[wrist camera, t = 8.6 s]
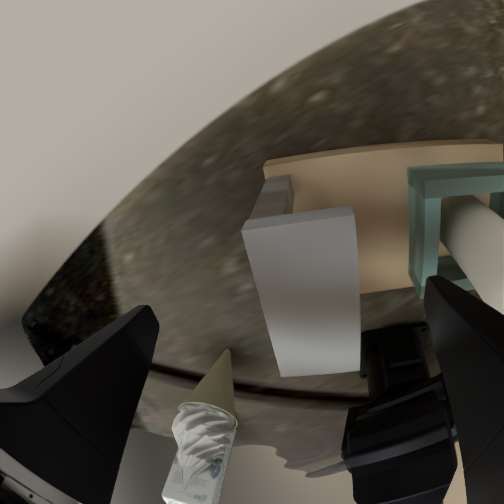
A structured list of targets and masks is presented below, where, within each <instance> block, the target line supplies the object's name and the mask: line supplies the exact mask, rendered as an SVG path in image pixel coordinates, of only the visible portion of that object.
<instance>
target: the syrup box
mask: <svg viewBox="0 0 504 504" xmlns="http://www.w3.org/2000/svg"><path fill="white" fill-rule="evenodd" d="M234 430H235V431H234V432H233V433H230V434H227V435H226V438H228V439H230V440H231V444H230V445H226V446H222V447H221V448H222V449H223V450H224V451H225V452H223V453H220V454H217V455H215V456H213V457H211V465H210V466H208V467H207V468H206V469H205V470H204V471H202V472H201V473H200V474H199V475H198V477H197V478H196V479H195V480H194V481H193V482H192V483H191V484H190V485H189V486H188V487H187V489H186V490H185V491H184V489H183V481H182V474H181V466H180V463H179V461H178V459H177V454H178V451H179V448H178V451H177V454H176V456H175V459H174V462H173V464H172V468H171V470H170V473H169V475H168V478H167V481H166V484H165V486H164V489H163V492H162V497H163V499H164V500H165V502H166V503H167V504H218V502H219V498H220V494H221V490H222V486H223V482H224V478H225V474H226V470H227V466H228V462H229V458H230V454H231V450H232V446H233V442H234V438H235V434H236V428H235V429H234Z"/></svg>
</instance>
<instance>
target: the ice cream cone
mask: <svg viewBox="0 0 504 504" xmlns="http://www.w3.org/2000/svg"><path fill="white" fill-rule="evenodd" d="M178 412H179V414H178V415H176V418H175V419H174V421H173V425H172V428H171V429H172V431H173V434H174V437H175V439H176V441H177V443H178V446H179V451H178V454H177V459H178V461H179V463H180V466H181V474H182V481H183V489H184V491H185V490H186V489H187V487H188V486H189V485H190V484H191V483H192V482H193V481H194V480H195V479H196V478H197V477H198V475H199V474H200V473H201V472H202V471H204V470H205V469H206V468H207V467H208V466H210V465H211V457H213V456H215V455H217V454H220V453H223V452H225V451H224V450H223V449H222V448H221V447H222V446H226V445H230V444H231V440H230V439H228V438H226V435H227V434H230V433H233V432H234V431H235V430H234V429H235V428H236V427H237V425H238V422H237V420H236V416H235V404H234V390H233V378H232V365H231V351H230V349H226V350H225V351H224V352H223V354H222V355H221V356H220V357H219V359H218V360H217V361H216V363H215V364H214V365H213V366H212V368H211V369H210V370H209V372H208V373H207V374H206V375H205V377H204V378H203V379H202V380H201V382H200V383H199V384H198V385H197V387H196V388H195V389H194V391H193V392H192V393H191V394H190V396H189V397H188V398H187V399H186V401H185V402H184V403H183V404H181V405H180V406H179V408H178Z"/></svg>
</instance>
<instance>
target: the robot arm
mask: <svg viewBox="0 0 504 504" xmlns="http://www.w3.org/2000/svg"><path fill="white" fill-rule="evenodd" d="M424 307H425V311H426V315H427V319H428V323H429V327H430V332H431V336H432V341H433V345H434V349H435V353H436V356H437V359H438V362H439V365H440V369H441V373H439V375H437V376H435V377H433V378H431V376H430V372H429V369H428V365H427V362H426V359H425V356H424V349H425V345H426V340H427V335H428V330H429V327H428V325H427V323H420V324H414V325H409V326H403V327H396V328H390V329H383V330H376V331H369V332H364V333H362V335H361V354H360V377H361V378H363V379H365V378H367V380H368V389H369V398H370V402H369V403H366V404H363V405H360V406H357V407H356V406H354V407H351V408H349V411H348V416H347V420H346V426H345V432H344V437H343V443H342V453H341V457H342V459H343V460H344V461H345V464H346V467H347V469H348V471H349V472H350V473H351V474H352V479H353V497H354V500H355V501H356V503H357V504H443V499H444V497H445V495H446V493H447V490H448V488H449V486H450V484H451V481H452V479H453V476H454V474H455V471H456V469H457V465H458V464H457V454H456V449H455V444H454V443H456V442H458V441H459V446H460V451H461V457H462V462H463V469H465V470H464V478H465V486H466V496H467V504H504V315H503V314H502V313H500V312H499V311H497V310H496V309H494V308H493V307H491V306H490V305H488V304H487V303H485V302H483V301H482V300H480V299H479V298H477V297H476V296H474V295H472V294H471V293H469V292H468V291H466V290H464V289H463V288H461V287H459V286H458V285H456V284H454V283H453V282H451V281H449V280H448V279H446V278H444V277H443V276H441V275H432V276H428V277H427V279H426V284H425V293H424ZM158 333H159V322H158V320H157V318H156V316H155V314H154V312H153V310H152V308H151V307H150V306H149V305H139V306H137V307H135V308H134V309H132V310H131V311H129V312H127V313H126V314H124V315H123V316H121V317H120V318H118V319H117V320H115V321H114V322H112V323H111V324H109V325H108V326H106V327H105V328H103V329H102V330H100V331H99V332H97V333H96V334H94V335H93V336H91V337H90V338H88V339H87V340H85V341H84V342H82V343H81V344H79V345H78V346H76V347H75V348H73V349H72V350H70V351H69V352H67V353H66V354H65V355H63V356H61V357H60V358H58V359H57V360H55V361H54V362H52V363H50V364H49V365H47V366H46V367H44V368H43V369H41V370H40V371H38V372H36V373H35V374H33V375H31V376H29V377H28V378H26V379H24V380H23V381H21V382H19V383H18V384H16V385H14V386H12V387H9V388H5V389H0V504H79V503H82V504H110V502H111V498H112V494H113V490H114V486H115V482H116V479H117V475H118V471H119V468H120V463H121V460H122V456H123V453H124V449H125V446H126V442H127V439H128V435H129V432H130V429H131V425H132V422H133V419H134V416H135V412H136V409H137V406H138V403H139V400H140V397H141V393H142V390H143V387H144V384H145V381H146V378H147V375H148V372H149V369H150V366H151V362H152V358H153V354H154V350H155V345H156V341H157V337H158ZM365 337H367V338H365Z"/></svg>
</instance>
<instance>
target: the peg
mask: <svg viewBox="0 0 504 504" xmlns="http://www.w3.org/2000/svg"><path fill="white" fill-rule="evenodd" d="M440 241H441V242H442V244H443V245H444V246H445V247H446V249H447V250H448V251H449V253H450V254H451V255H452V257H453V258H454V259H455V261H456V262H457V263H458V265H459V266H460V268H461V269H462V270H463V272H464V273H465V275H466V276H467V277H468V279H469V280H470V282H471V283H472V285H473V286H474V288H475V289H476V291H477V292H478V294H479V295H480V297H481V298H482V300H483V302H485V303H487V304H488V305H490V306H491V307H493V308H494V309H496V310H497V311H499V312H500V313H502V314H503V315H504V219H502V218H501V217H500V216H499V215H498V214H496V213H495V212H494V211H493V210H491V209H490V208H489V207H488V206H486V205H485V204H484V203H482V202H481V201H480V200H479V199H477V198H476V197H475V196H473V195H461V196H451V197H445V198H444V199H443V200H442V202H441V219H440Z"/></svg>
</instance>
